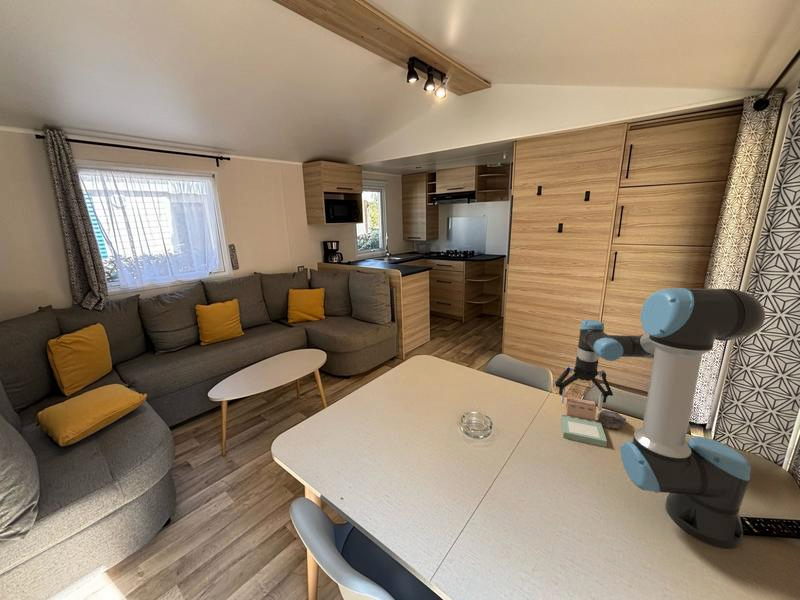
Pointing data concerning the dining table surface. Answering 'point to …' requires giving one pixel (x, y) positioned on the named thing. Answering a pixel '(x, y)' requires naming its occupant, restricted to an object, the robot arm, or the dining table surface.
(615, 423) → the rock
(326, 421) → the dining table surface
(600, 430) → the green picture frame
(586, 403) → the pinkish brown box
